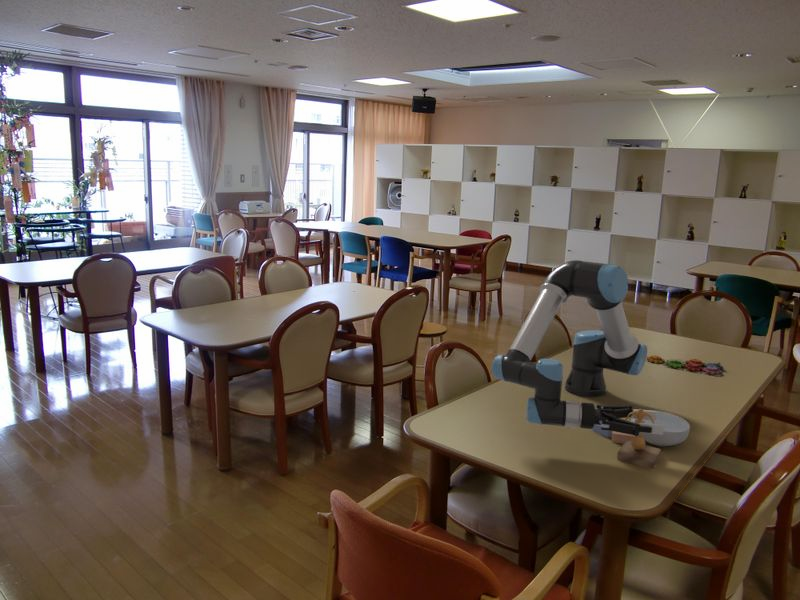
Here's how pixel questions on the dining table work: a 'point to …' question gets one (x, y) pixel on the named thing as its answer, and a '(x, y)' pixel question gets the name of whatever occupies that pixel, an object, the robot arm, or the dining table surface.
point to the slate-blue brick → (602, 431)
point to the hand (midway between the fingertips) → (659, 422)
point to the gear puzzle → (690, 365)
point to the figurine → (638, 441)
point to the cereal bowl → (667, 429)
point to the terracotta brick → (620, 437)
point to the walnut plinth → (639, 455)
